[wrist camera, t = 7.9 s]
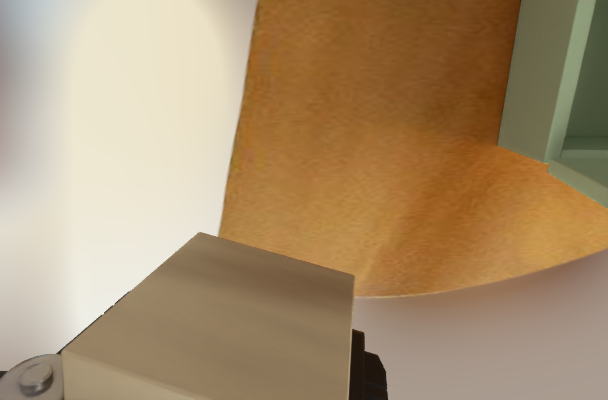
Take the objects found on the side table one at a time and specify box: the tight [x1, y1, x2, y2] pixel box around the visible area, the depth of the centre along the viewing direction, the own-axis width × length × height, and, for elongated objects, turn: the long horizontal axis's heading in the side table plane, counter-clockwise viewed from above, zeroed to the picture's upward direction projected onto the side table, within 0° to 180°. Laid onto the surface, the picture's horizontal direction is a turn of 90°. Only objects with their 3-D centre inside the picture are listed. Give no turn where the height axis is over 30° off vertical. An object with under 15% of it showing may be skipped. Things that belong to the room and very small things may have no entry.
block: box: [61, 232, 355, 400], centre depth 8 cm, size 5×5×5 cm
